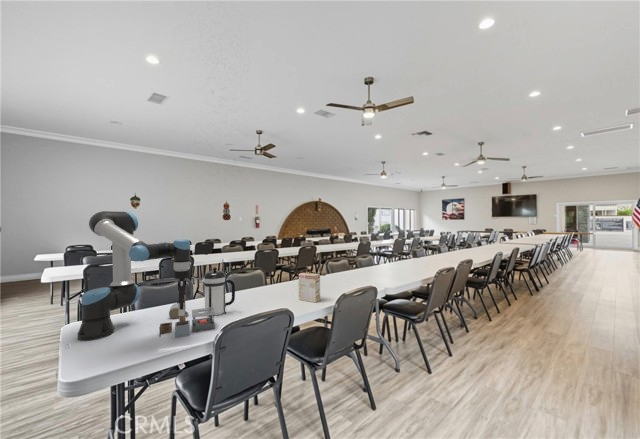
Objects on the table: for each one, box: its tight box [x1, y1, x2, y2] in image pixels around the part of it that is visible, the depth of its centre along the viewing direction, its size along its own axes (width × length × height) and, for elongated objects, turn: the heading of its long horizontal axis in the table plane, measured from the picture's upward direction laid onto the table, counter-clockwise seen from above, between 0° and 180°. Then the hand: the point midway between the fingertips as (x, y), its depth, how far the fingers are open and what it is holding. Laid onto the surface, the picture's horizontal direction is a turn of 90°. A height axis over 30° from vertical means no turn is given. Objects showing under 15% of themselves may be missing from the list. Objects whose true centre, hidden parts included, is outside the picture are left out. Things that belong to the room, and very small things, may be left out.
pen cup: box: [174, 320, 191, 338], centre depth 146 cm, size 7×7×7 cm
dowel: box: [178, 296, 187, 325], centre depth 146 cm, size 3×3×20 cm
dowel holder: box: [159, 321, 173, 337], centre depth 150 cm, size 5×5×5 cm
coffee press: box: [201, 266, 236, 318], centre depth 180 cm, size 17×16×30 cm
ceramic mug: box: [168, 302, 189, 320], centre depth 177 cm, size 11×8×8 cm
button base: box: [191, 307, 216, 333], centre depth 156 cm, size 11×11×10 cm
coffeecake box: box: [298, 272, 321, 304], centre depth 211 cm, size 15×7×20 cm, turn 58°
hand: (181, 311), depth 146 cm, fingers open, 13 cm apart
